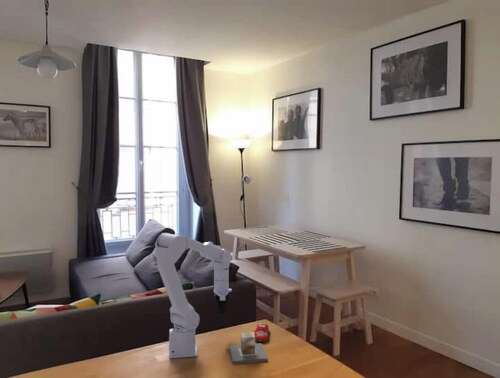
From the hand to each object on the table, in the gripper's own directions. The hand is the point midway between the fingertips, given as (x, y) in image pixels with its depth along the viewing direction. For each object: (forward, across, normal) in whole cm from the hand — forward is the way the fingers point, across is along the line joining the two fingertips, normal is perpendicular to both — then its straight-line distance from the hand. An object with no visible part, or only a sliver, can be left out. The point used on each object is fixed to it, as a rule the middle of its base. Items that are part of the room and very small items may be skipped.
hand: (221, 312), depth 154 cm
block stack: (+8, -17, -8) cm, 21 cm away
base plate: (+9, -17, -8) cm, 21 cm away
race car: (+10, -2, -16) cm, 19 cm away
